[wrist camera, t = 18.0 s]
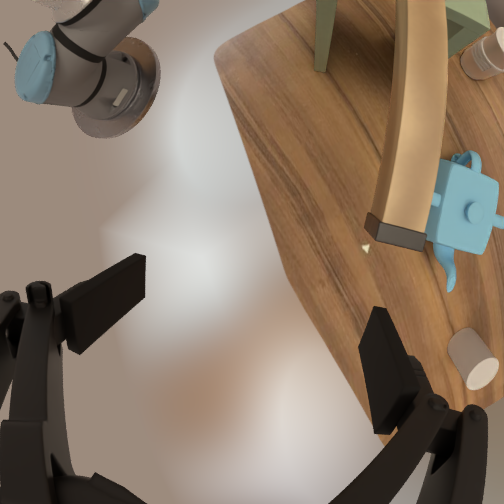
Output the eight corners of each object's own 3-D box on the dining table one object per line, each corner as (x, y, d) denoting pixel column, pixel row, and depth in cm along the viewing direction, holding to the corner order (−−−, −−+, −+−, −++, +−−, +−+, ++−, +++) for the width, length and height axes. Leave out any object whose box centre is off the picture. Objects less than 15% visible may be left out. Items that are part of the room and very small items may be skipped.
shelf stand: (313, 70, 43) (316, -41, 13) (321, 17, 39) (324, -103, 9) (402, 92, 41) (498, 24, 11) (405, 38, 37) (478, -53, 7)
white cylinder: (470, 355, 51) (490, 386, 40) (443, 359, 53) (461, 393, 42) (479, 325, 49) (503, 354, 38) (452, 329, 51) (474, 361, 39)
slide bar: (363, 227, 20) (374, 241, 17) (391, -29, 13) (401, -52, 9) (405, 238, 20) (422, 252, 16) (428, -16, 13) (442, -36, 9)
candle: (457, 73, 37) (497, 51, 22) (458, 45, 34) (494, 19, 20) (484, 88, 36) (527, 73, 22) (485, 60, 34) (524, 40, 19)
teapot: (385, 177, 46) (411, 181, 33) (455, 141, 41) (494, 138, 28) (422, 267, 49) (450, 296, 36) (485, 229, 44) (524, 248, 31)
